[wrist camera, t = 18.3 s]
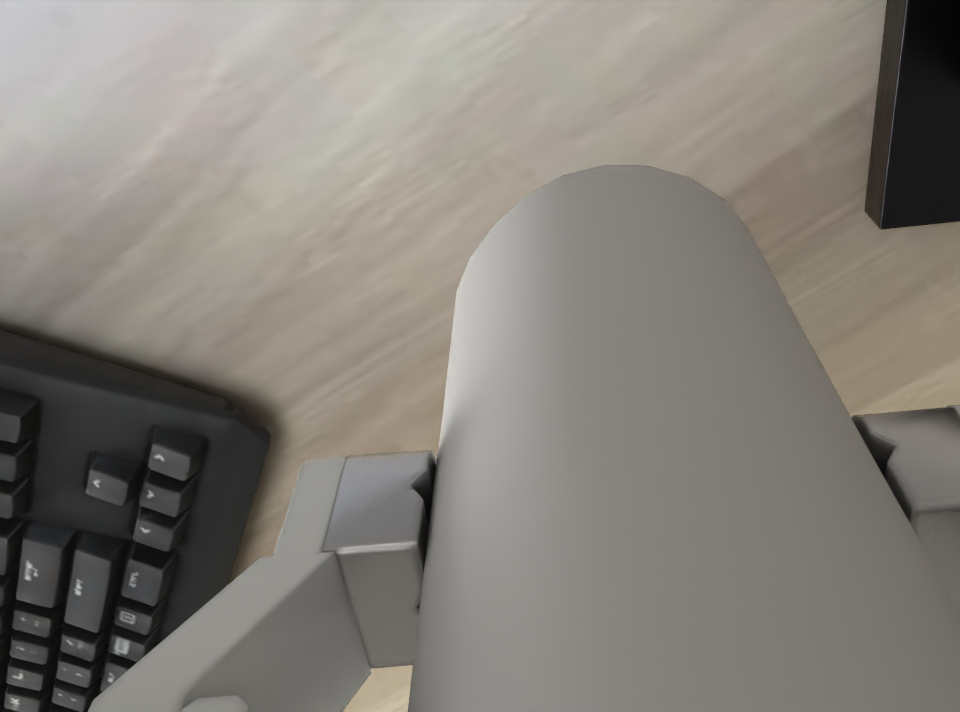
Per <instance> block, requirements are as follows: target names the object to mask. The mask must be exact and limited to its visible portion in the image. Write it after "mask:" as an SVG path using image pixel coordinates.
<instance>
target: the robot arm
mask: <svg viewBox="0 0 960 712" xmlns="http://www.w3.org/2000/svg"><path fill="white" fill-rule="evenodd" d="M851 419H852V421H853V422H854V424H855V426H856V428H857V430H858V431H859V433H860V435H861V437H862V439H863V441H864V442H865V444H866V446H867V448H868V450H869V451H870V453H871V455H872V457H873V459H874V460H875V462H876V464H877V466H878V468H879V469H880V471H881V473H882V475H883V476H884V478H885V480H886V482H887V484H888V485H889V487H890V489H891V491H892V492H893V494H894V496H895V498H896V499H897V501H898V503H899V505H900V507H901V508H902V510H903V512H904V514H905V515H906V517H907V519H908V521H909V522H910V524H911V526H912V528H913V530H914V531H915V533H916V535H917V537H918V538H919V540H920V542H921V544H922V545H923V547H924V549H925V551H926V553H927V554H928V556H929V558H930V560H931V561H932V563H933V565H934V567H935V569H936V570H937V572H938V574H939V576H940V577H941V579H942V581H943V583H944V584H945V586H946V588H947V590H948V592H949V593H950V595H951V597H952V599H953V600H954V602H955V604H956V606H957V607H958V609H959V611H960V405H950V406H947V407H946V408H934V409H922V410H911V411H900V412H888V413H877V414H865V415H854V416H852V418H851ZM436 465H437V460H436V456H435V454H434V453H433V451H432V450H428V451H412V452H396V453H379V454H363V455H350V456H349V457H348V456H338V457H324V458H311V459H308V460H307V461H306V462H305V463H304V464H303V465H302V467H301V470H300V473H299V476H298V479H297V482H296V485H295V488H294V492H293V495H292V498H291V501H290V504H289V507H288V510H287V513H286V516H285V519H284V523H283V526H282V529H281V532H280V535H279V538H278V541H277V544H276V547H275V550H274V553H273V556H269V557H260V558H259V559H258V560H257V561H255V562H254V563H253V564H252V565H251V566H250V567H248V568H247V569H246V570H245V571H244V572H243V573H241V574H240V575H239V576H238V577H237V578H235V579H234V580H233V581H232V582H231V583H230V584H228V585H227V586H226V587H225V588H224V589H223V590H221V591H220V592H219V593H218V594H217V595H216V596H214V597H213V598H212V599H211V600H210V601H209V602H207V603H206V604H205V605H204V606H203V607H202V608H200V609H199V610H198V611H197V612H196V613H195V614H193V615H192V616H191V617H190V618H189V619H188V620H186V621H185V622H184V623H183V624H182V625H181V626H179V627H178V628H177V629H176V630H175V631H173V632H172V633H171V634H170V635H169V636H168V637H166V638H165V639H164V640H163V641H162V642H161V643H159V644H158V645H157V646H156V647H155V648H154V649H152V650H151V651H150V652H149V653H148V654H147V655H145V656H144V657H143V658H142V659H141V660H140V661H138V662H137V663H136V664H135V665H134V666H133V667H131V668H130V669H129V670H128V671H127V672H126V673H124V674H123V675H122V676H121V677H120V678H118V679H117V680H116V681H115V682H114V683H113V684H111V685H110V686H109V687H108V688H107V689H106V690H104V691H103V692H102V693H101V694H100V695H99V696H97V697H96V698H95V699H94V700H93V702H92V704H91V706H90V708H89V710H88V712H342V711H343V710H344V709H345V707H346V706H347V705H348V703H349V702H350V701H351V699H352V698H353V696H354V695H355V694H356V692H357V691H358V690H359V688H360V687H361V686H362V684H363V683H364V682H365V680H366V679H367V678H368V676H369V675H370V674H371V671H370V669H371V668H383V667H394V666H406V665H413V662H414V653H415V645H416V636H417V627H418V619H419V610H420V601H421V593H422V584H423V575H424V566H425V558H426V549H427V540H428V532H429V524H430V515H431V507H432V499H433V490H434V482H435V473H436Z"/></svg>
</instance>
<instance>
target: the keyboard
mask: <svg viewBox="0 0 960 712" xmlns="http://www.w3.org/2000/svg"><path fill="white" fill-rule="evenodd" d="M270 438H271V434H270V432H269V431H268V430H267V429H266V428H264V427H263V426H262V425H260V424H259V423H258V422H257V421H255V420H253V419H252V418H251V417H250V416H248V415H247V414H246V413H245V412H243V411H241V410H236V408H235V407H234V406H233V404H232V403H231V402H230V401H229V400H228V399H224V398H221V397H218V396H214V395H211V394H208V393H204V392H201V391H198V390H195V389H192V388H188V387H185V386H182V385H179V384H176V383H172V382H169V381H166V380H163V379H160V378H156V377H153V376H150V375H146V374H143V373H140V372H136V371H133V370H130V369H127V368H123V367H120V366H117V365H114V364H110V363H107V362H104V361H100V360H97V359H94V358H91V357H87V356H84V355H81V354H78V353H74V352H71V351H68V350H64V349H61V348H58V347H55V346H51V345H48V344H45V343H42V342H38V341H35V340H32V339H29V338H25V337H22V336H19V335H15V334H12V333H9V332H5V331H2V330H0V712H88V710H89V708H90V706H91V704H92V702H93V700H94V699H95V698H96V697H97V696H99V695H100V694H101V693H102V692H103V691H104V690H106V689H107V688H108V687H109V686H110V685H111V684H113V683H114V682H115V681H116V680H117V679H118V678H120V677H121V676H122V675H123V674H124V673H126V672H127V671H128V670H129V669H130V668H131V667H133V666H134V665H135V664H136V663H137V662H138V661H140V660H141V659H142V658H143V657H144V656H145V655H147V654H148V653H149V652H150V651H151V650H152V649H154V648H155V647H156V646H157V645H158V644H159V643H161V642H162V641H163V640H164V639H165V638H166V637H168V636H169V635H170V634H171V633H172V632H173V631H175V630H176V629H177V628H178V627H179V626H181V625H182V624H183V623H184V622H185V621H186V620H188V619H189V618H190V617H191V616H192V615H193V614H195V613H196V612H197V611H198V610H199V609H200V608H202V607H203V606H204V605H205V604H206V603H207V602H209V601H210V600H211V599H212V598H213V597H214V596H216V595H217V594H218V593H219V592H220V591H221V590H223V589H224V588H225V587H226V586H227V583H228V580H229V577H230V574H231V571H232V568H233V564H234V561H235V558H236V554H237V551H238V548H239V544H240V541H241V538H242V535H243V531H244V528H245V525H246V521H247V518H248V515H249V511H250V508H251V505H252V502H253V498H254V495H255V492H256V488H257V485H258V482H259V479H260V475H261V472H262V469H263V465H264V462H265V459H266V456H267V452H268V449H269V444H270Z"/></svg>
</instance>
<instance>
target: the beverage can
mask: <svg viewBox="0 0 960 712" xmlns="http://www.w3.org/2000/svg"><path fill="white" fill-rule="evenodd" d="M408 712H960V611H959V609H958V607H957V606H956V604H955V602H954V600H953V599H952V597H951V595H950V593H949V592H948V590H947V588H946V586H945V584H944V583H943V581H942V579H941V577H940V576H939V574H938V572H937V570H936V569H935V567H934V565H933V563H932V561H931V560H930V558H929V556H928V554H927V553H926V551H925V549H924V547H923V545H922V544H921V542H920V540H919V538H918V537H917V535H916V533H915V531H914V530H913V528H912V526H911V524H910V522H909V521H908V519H907V517H906V515H905V514H904V512H903V510H902V508H901V507H900V505H899V503H898V501H897V499H896V498H895V496H894V494H893V492H892V491H891V489H890V487H889V485H888V484H887V482H886V480H885V478H884V476H883V475H882V473H881V471H880V469H879V468H878V466H877V464H876V462H875V460H874V459H873V457H872V455H871V453H870V451H869V450H868V448H867V446H866V444H865V442H864V441H863V439H862V437H861V435H860V433H859V431H858V430H857V428H856V426H855V424H854V422H853V421H852V419H851V417H850V415H849V413H848V412H847V410H846V408H845V406H844V404H843V402H842V401H841V399H840V397H839V395H838V393H837V392H836V390H835V388H834V386H833V384H832V383H831V381H830V379H829V377H828V375H827V373H826V372H825V370H824V368H823V366H822V364H821V362H820V360H819V359H818V357H817V355H816V353H815V351H814V349H813V348H812V346H811V344H810V342H809V340H808V338H807V337H806V335H805V333H804V331H803V329H802V327H801V326H800V324H799V322H798V320H797V318H796V316H795V315H794V313H793V311H792V309H791V307H790V305H789V303H788V302H787V300H786V298H785V296H784V294H783V292H782V291H781V289H780V287H779V285H778V283H777V281H776V280H775V278H774V276H773V274H772V272H771V270H770V269H769V267H768V265H767V263H766V261H765V259H764V258H763V256H762V254H761V252H760V250H759V248H758V246H757V245H756V243H755V241H754V239H753V237H752V235H751V234H750V232H749V230H748V228H747V227H746V226H745V225H744V223H743V222H742V221H741V219H740V218H739V217H738V216H737V214H736V213H735V212H734V211H733V209H732V208H731V207H730V205H729V204H728V203H727V202H726V200H725V199H723V198H721V197H720V196H718V195H717V194H715V193H713V192H712V191H710V190H709V189H707V188H705V187H704V186H702V185H701V184H699V183H698V182H696V181H694V180H693V179H691V178H689V177H686V176H682V175H679V174H675V173H672V172H668V171H665V170H661V169H658V168H654V167H651V166H640V165H603V166H599V167H595V168H591V169H587V170H583V171H579V172H575V173H571V174H567V175H563V176H561V177H560V178H558V179H556V180H554V181H552V182H550V183H549V184H547V185H545V186H543V187H541V188H539V189H538V190H536V191H534V192H532V193H530V194H528V195H527V196H525V197H524V198H523V199H522V200H521V201H520V202H519V203H518V204H516V205H515V206H514V207H513V208H512V209H511V210H510V211H509V212H507V213H506V214H505V215H504V216H503V217H502V218H501V219H500V220H498V221H497V222H496V223H495V224H494V226H493V227H492V228H491V230H490V231H489V232H488V234H487V235H486V236H485V238H484V239H483V241H482V242H481V243H480V245H479V246H478V247H477V249H476V250H475V251H474V253H473V254H472V256H471V257H470V259H469V262H468V264H467V267H466V269H465V272H464V275H463V277H462V280H461V282H460V285H459V287H458V290H457V293H456V301H455V310H454V319H453V328H452V337H451V346H450V355H449V363H448V372H447V381H446V389H445V398H444V406H443V415H442V423H441V431H440V440H439V448H438V457H437V465H436V473H435V482H434V490H433V499H432V507H431V515H430V524H429V532H428V540H427V549H426V558H425V566H424V575H423V584H422V593H421V601H420V610H419V619H418V627H417V636H416V645H415V653H414V662H413V671H412V679H411V688H410V697H409V706H408Z"/></svg>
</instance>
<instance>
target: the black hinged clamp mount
mask: <svg viewBox="0 0 960 712" xmlns="http://www.w3.org/2000/svg"><path fill="white" fill-rule="evenodd" d="M865 212H866V213H867V214H868V216H869V217H870V218H871V219H872V220H873V221H874V223H875V224H876V225H877V226H878V227H879V229H890V228H900V227H909V226H919V225H929V224H938V223H948V222H958V221H960V0H887V6H886V16H885V25H884V34H883V44H882V53H881V62H880V72H879V81H878V91H877V100H876V109H875V119H874V128H873V138H872V147H871V156H870V166H869V175H868V184H867V194H866V203H865Z"/></svg>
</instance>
